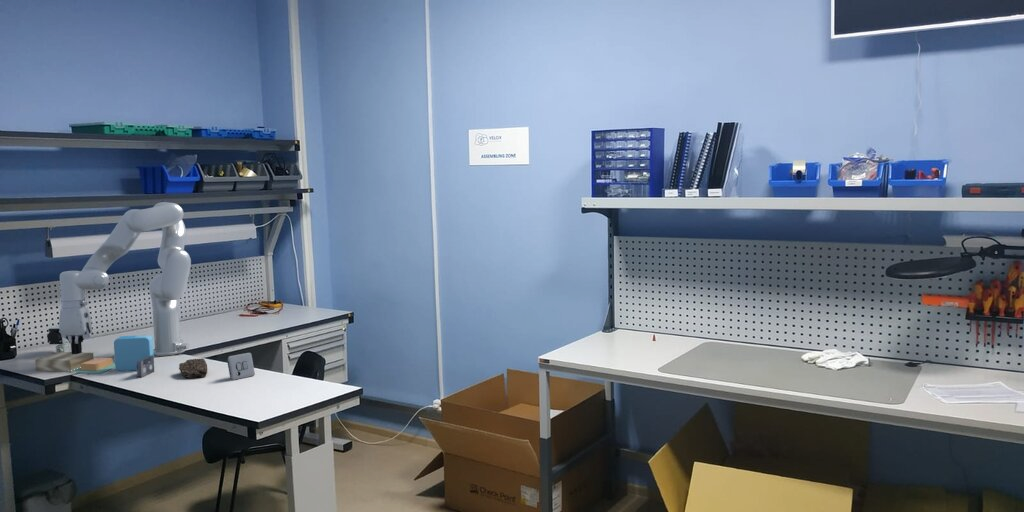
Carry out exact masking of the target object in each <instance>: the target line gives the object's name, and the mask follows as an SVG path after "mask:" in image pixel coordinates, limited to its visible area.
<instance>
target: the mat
mask: <svg viewBox="0 0 1024 512" xmlns="http://www.w3.org/2000/svg"><path fill="white" fill-rule="evenodd" d="M112 362H113V364H112V365H110V366H107V367H104V368H102V369H99V370H96V371H94V370H81V368H78V369H75V370H72V371H69V373H70V372H76V373H75V374H77V373H78V374H102V373H105V372H108V371H110V370H113V369H116V368H115V361H112Z"/></svg>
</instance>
